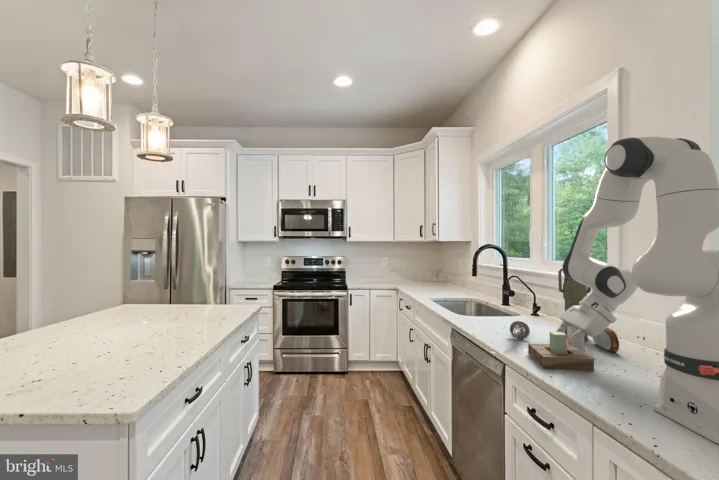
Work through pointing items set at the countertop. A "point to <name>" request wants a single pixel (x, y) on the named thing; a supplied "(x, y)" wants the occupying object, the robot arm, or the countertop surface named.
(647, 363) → the countertop surface
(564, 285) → the thermos
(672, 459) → the countertop surface
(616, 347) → the tin
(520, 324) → the spaceship
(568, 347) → the walnut holder
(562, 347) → the green block
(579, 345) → the skincare box
